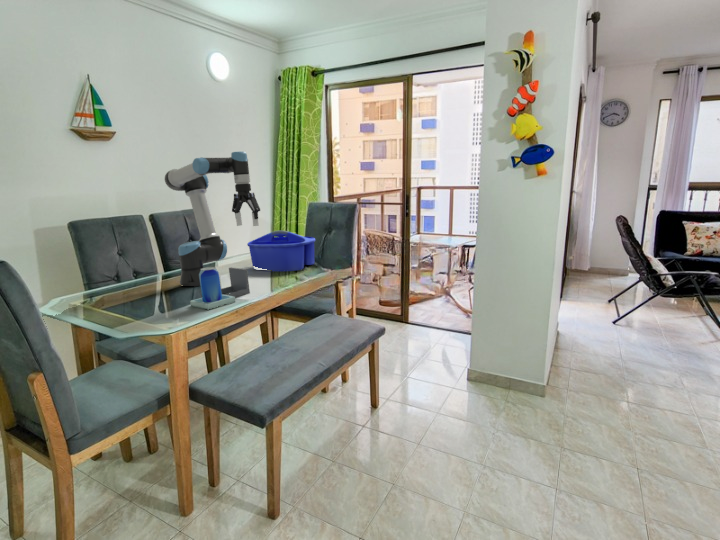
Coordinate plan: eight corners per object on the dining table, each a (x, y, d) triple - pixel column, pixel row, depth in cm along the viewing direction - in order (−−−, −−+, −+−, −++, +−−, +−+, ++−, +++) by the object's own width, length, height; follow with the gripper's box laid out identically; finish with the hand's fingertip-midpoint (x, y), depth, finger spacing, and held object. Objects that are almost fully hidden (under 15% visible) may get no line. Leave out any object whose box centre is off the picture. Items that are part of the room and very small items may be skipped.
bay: (214, 295, 212) (211, 271, 209) (233, 290, 220) (230, 267, 218) (230, 298, 203) (227, 273, 201) (249, 293, 212) (246, 269, 210)
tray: (190, 306, 195) (190, 300, 194) (217, 298, 206) (217, 293, 205) (208, 310, 186) (207, 304, 186) (235, 302, 197) (234, 296, 196)
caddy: (302, 272, 254) (299, 233, 249) (240, 271, 270) (235, 234, 265) (326, 262, 282) (323, 226, 278) (267, 261, 299) (264, 228, 294)
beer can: (204, 306, 191) (199, 271, 187) (201, 302, 198) (196, 268, 195) (224, 302, 194) (219, 268, 191) (220, 299, 202) (216, 265, 198)
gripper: (221, 185, 221) (226, 226, 226) (252, 182, 206) (257, 226, 210) (233, 184, 227) (238, 224, 231) (264, 181, 212) (269, 225, 216)
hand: (247, 225), depth 221 cm, fingers open, 13 cm apart
